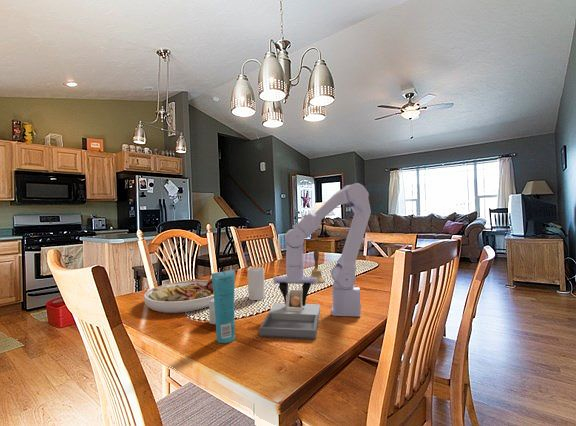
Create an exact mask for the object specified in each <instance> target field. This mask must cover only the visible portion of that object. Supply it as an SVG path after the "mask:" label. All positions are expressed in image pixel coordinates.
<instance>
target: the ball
mask: <svg viewBox="0 0 576 426" xmlns="http://www.w3.org/2000/svg"><path fill="white" fill-rule="evenodd" d="M291 304H292V305H293V306H294V307H298V306H299V305H300V304H301V300H300V298H299V297H296V296H295V297H293V298H292V299H291Z"/></svg>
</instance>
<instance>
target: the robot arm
mask: <svg viewBox="0 0 576 426" xmlns="http://www.w3.org/2000/svg"><path fill="white" fill-rule="evenodd" d="M369 196H370V194H369V192H368V191H367V189H366V187H365V186H364V185H363V184H361V183H358V182H356V183H353V184H347V185H344V186H343V187H342V189H339V190H338V191H337V192H335V193H334V194H332V196H331V197H329V199H327V201H326V202H325V203H324V204H322V205H321V206H320V207H319V209H318V210H316V211H315V212H314V213H311V212H310V213H307V214H304V215H303V216H302V219H301V220H300V221H299V222H298V223H296V224H294V225H292V229H289V230H287V232H286V233H285V235H284V236H285V237H284V241H285V243H286V245H285V248H286V252H285V262H286V263H285V264H286V265H285V267H286V272H285V273H286V275H285V276H274V277H273V279H272V281H273V284H274V285H277V284H278V288H279V290H280V292H281V294H282V296H283V300H284V303H285V305H286V295H287V293H288V291H289V284H290V285H292V284H297V285H298V284H299V285H301V284H302V286H301V287H302V288H301V290H303V306H305V304H307V303H306V301H307V296H308V293H309V290H310V288H311V286H312V285H314V286H317V284H318V283H317V278H314V277H311V276H304V251H303V244H304V242H305V239H308V237H310V236H311V235H312V234H313V233H314V232H315V231H316V230H317V229H319V227H321V223H322V220H323V219H324V218H326V217H327V216H328V215H329V214H330V213H331V212H333V211H334V210H335V209H336V208H338V207H339V206H341V205H346V204H347V205H348V206H349V207H350V209H351V210H352V212H353V218H352V220H351V223H350V227H349V229H348V233H347V236H346V238H345V242H344V246H343V248H342V251H341V255H340V257H339V258H338V259H337V261H336V264H335V265H334V266H333V268H331V271H330V276H331V278H332V280H333V283H332V288H331V289H332V306H331V316H335V317H337V316H338V317H357V318H359V317H362V315H361V309H362V304H361V289H360V287H359V286H355V283H356V272H357V264H356V260H357V258H358V254H359V252H360V248H361V246H362V242H363V238H364V236H365V233H366V229H367V227H368V223H369V220H370V217H371V213H372V210H371V205H370V201H369V200H370V199H369Z"/></svg>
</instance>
